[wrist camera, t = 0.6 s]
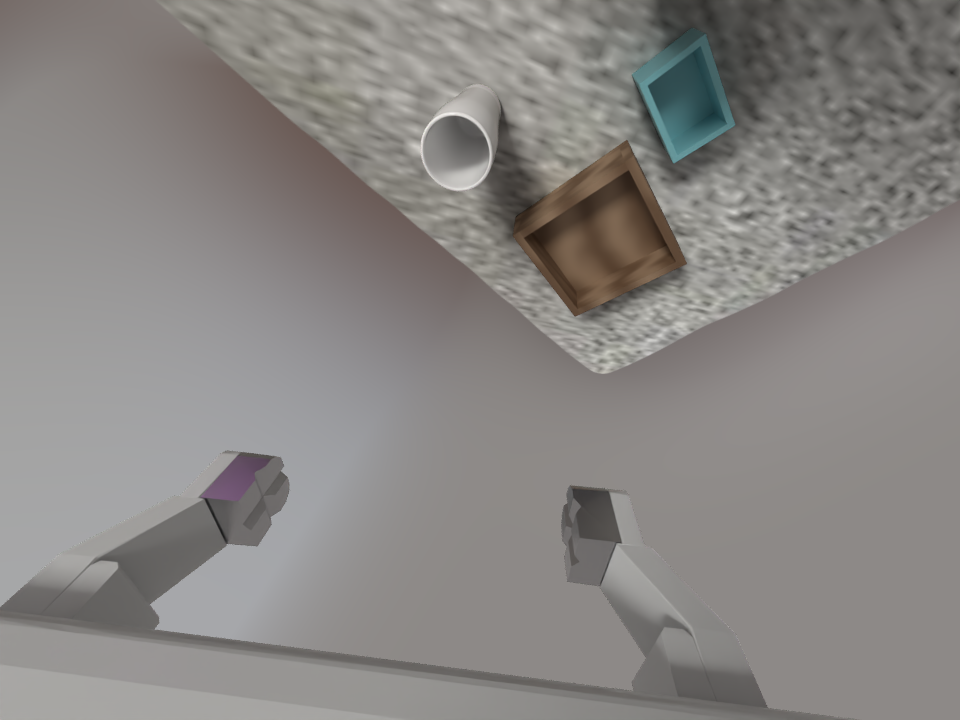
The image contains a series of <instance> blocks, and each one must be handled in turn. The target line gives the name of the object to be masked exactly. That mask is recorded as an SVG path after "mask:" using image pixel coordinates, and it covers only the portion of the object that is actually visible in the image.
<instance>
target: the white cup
mask: <svg viewBox="0 0 960 720" xmlns="http://www.w3.org/2000/svg"><path fill="white" fill-rule="evenodd" d="M500 118H501V106H500V102H499V99H498V97H497V95H496V94H495V93H494V92H493V90H491V89H490V88H489V87H487V86H485V85H482V84H474V85H470V86H468V87H467V88H465V89H464V90H463V91H462V92H461V93H460V94H459V95H458V96H456V97H455V98H453V99H452V100H450V101H449V102H447V103H446V104H445V105H443V106H442V107H441V108H440V109H439V110H438V111H437V112H436V113H435V115H434V116H433V117H432V119H431V120H430V122H429V123H428V125H427V127H426V129H425V130H424V133H423V136H422V140H421V157H422V161H423V164H424V166H425V169H426V170H427V172H428V174H429V175H430V176H431V178H432V179H433V180H434V181H435V182H436V183H438V184H439V185H440V186H442V187H444V188H446V189H449V190H452V191H467V190H471V189H473V188H475V187H477V186H478V185H480V184H481V183H482V182H483V181H484V180H485V178H486V177H487V175H488V173H489V171H490V169H491V167H492V165H493V162H494V159H495V156H496V152H497V147H498V137H499V122H500Z"/></svg>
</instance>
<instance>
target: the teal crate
mask: <svg viewBox="0 0 960 720" xmlns="http://www.w3.org/2000/svg"><path fill="white" fill-rule="evenodd" d="M632 76H633V78H634V81H635V83H636V85H637V87H638V90H639V92H640V94H641V96H642V99H643V101H644V103H645V105H646V108H647V110H648V112H649V114H650V117H651V119H652V121H653V124H654V126H655V128H656V130H657V133H658V135H659V137H660V139H661V142H662V144H663V146H664V148H665V150H666V152H667V154H668V155H669V157H670V159H671V160H672V162H673V164H674V163H676V162H677V161H679V160H680V159H682V158H684V157H685V156H687V155H688V154H690V153H692V152H693V151H695V150H697V149H698V148H700V147H701V146H703V145H705V144H706V143H708V142H710V141H711V140H713V139H714V138H716V137H718V136H719V135H721V134H722V133H724V132H726V131H727V130H729V129H731V128H732V127H734V126H735V122H734V119H733V116H732V113H731V110H730V107H729V104H728V101H727V98H726V95H725V92H724V89H723V85H722V82H721V79H720V76H719V73H718V70H717V67H716V64H715V61H714V58H713V55H712V52H711V48H710V45H709V42H708V39H707V36H706V34H705V33H703V32H701V31H699V30H697V29H694V28H691V29H690V30H688V31H687V32H686V33H685V34H683V35H682V36H681V37H679V38H678V39H677V40H676V41H674V42H673V43H672V44H670V45H669V46H668V47H667V48H665V49H664V50H663V51H662V52H660V53H659V54H658V55H656V56H655V57H654V58H653V59H651V60H650V61H649V62H647V63H646V64H645V65H644V66H642V67H641V68H640V69H638V70H637V71H636V72H635V73H633V74H632Z"/></svg>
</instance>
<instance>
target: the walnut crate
mask: <svg viewBox="0 0 960 720" xmlns="http://www.w3.org/2000/svg"><path fill="white" fill-rule="evenodd" d="M513 237H514V238H515V240H516V241H517V242H518V244H519V245H520V246H521V247H522V249H523V250H524V251H525V253H526V254H527V255H528V256H529V258H530V259H531V260H532V262H533V263H534V264H535V266H536V267H537V268H538V269H539V271H540V272H541V273H542V275H543V276H544V277H545V278H546V280H547V281H548V282H549V284H550V285H551V286H552V287H553V289H554V290H555V291H556V293H557V294H558V295H559V297H560V298H561V299H562V300H563V302H564V303H565V304H566V306H567V307H568V308H569V309H570V311H571V312H572V313H573V315H574V316H577V315H580V314H582V313H584V312H586V311H588V310H590V309H592V308H594V307H596V306H599V305H601V304H603V303H605V302H607V301H609V300H611V299H613V298H616V297H618V296H620V295H622V294H624V293H626V292H628V291H630V290H632V289H635V288H637V287H639V286H641V285H643V284H645V283H647V282H649V281H652V280H654V279H656V278H658V277H660V276H662V275H664V274H666V273H668V272H671V271H673V270H675V269H677V268H679V267H681V266H683V265H685V264H687V263H686V261H685V258H684V256H683V254H682V251H681V249H680V247H679V245H678V242H677V240H676V238H675V236H674V234H673V232H672V230H671V228H670V226H669V224H668V222H667V220H666V218H665V216H664V214H663V212H662V210H661V208H660V206H659V204H658V202H657V200H656V198H655V196H654V194H653V192H652V190H651V188H650V185H649V183H648V181H647V179H646V177H645V175H644V173H643V171H642V169H641V167H640V165H639V163H638V161H637V159H636V157H635V155H634V153H633V151H632V149H631V147H630V145H629V143H628V141H627V140H626V141H625V142H623V143H622V144H620V145H619V146H618V147H616V148H615V149H613V150H612V151H610V152H609V153H607V154H606V155H605V156H603V157H602V158H600V159H599V160H597V161H596V162H594V163H593V164H592V165H590V166H589V167H587V168H586V169H584V170H583V171H581V172H580V173H579V174H577V175H576V176H574V177H573V178H571V179H570V180H568V181H567V182H566V183H564V184H563V185H561V186H560V187H558V188H557V189H555V190H554V191H553V192H551V193H550V194H548V195H547V196H545V197H544V198H542V199H541V200H540V201H538V202H537V203H535V204H534V205H532V206H531V207H529V208H528V209H527V210H525V211H524V212H522V213H521V214H519V215H518V216H517V217H516V219H515V226H514V232H513Z"/></svg>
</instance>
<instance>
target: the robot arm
mask: <svg viewBox="0 0 960 720" xmlns="http://www.w3.org/2000/svg"><path fill="white" fill-rule="evenodd" d="M283 467H284V464H283V461H282V459H281V458H280V457H276V456H269V455H261V454H254V453H245V452H236V451H225V452H223V453H220V455H219V456H218V457H217V458H216V459H215V460H214V461H213V462H212V463H211V464H210V465H209V466H208V467H207V468H206V469H205V470H204V471H203V472H202V473H201V474H200V475H199V476H198V477H197V479H196V480H195V481H194V482H193V483H192V484H191V485H190V486H189V487H188V488H187V489H186V490H185V491H184V492H183V493H182V494H181V495H180V496H172V497H170V498H168V499H167V500H165V501H163V502H161V503H159V504H157V505H155V506H153V507H151V508H149V509H147V510H145V511H143V512H141V513H139V514H137V515H135V516H133V517H131V518H129V519H127V520H125V521H123V522H121V523H119V524H117V525H115V526H113V527H111V528H110V529H107V530H106V531H104V532H101V533H99V534H97V535H96V536H94V537H92V538H90V539H88V540H86V541H84V542H82V543H80V544H78V545H76V546H74V547H72V548H70V549H68V550H66V551H64V552H62V553H60V554H59V555H58V556H57V557H56V558H55V559H53V560H52V561H51V562H50V563H49V564H48V565H47V566H46V567H44V568H43V569H42V570H41V571H40V572H39V573H38V574H37V575H36V576H34V577H33V578H32V579H31V580H30V581H29V582H28V583H27V584H26V585H24V586H23V587H22V588H21V589H20V590H19V591H18V592H17V593H16V594H15V595H13V596H12V597H11V598H10V599H9V600H8V601H7V602H6V603H5V604H3V605H2V606H1V607H0V720H857V719H850V718H841V717H834V716H826V715H818V714H810V713H802V712H795V711H787V710H779V709H771V708H768V707H767V705H766V702H765V700H764V698H763V696H762V693H761V691H760V689H759V687H758V684H757V682H756V680H755V677H754V675H753V673H752V670H751V668H750V666H749V664H748V661H747V659H746V657H745V654H744V652H743V650H742V648H741V646H740V643H739V641H738V639H737V636H736V634H735V633H734V632H733V631H732V630H731V629H730V628H729V627H728V626H727V625H726V624H725V623H724V622H723V621H722V620H721V619H720V618H719V617H718V616H717V614H715V612H714V611H713V610H712V609H711V608H710V607H709V606H708V605H707V604H706V603H705V602H704V601H703V600H702V599H701V598H700V597H699V596H698V595H697V594H696V593H695V592H694V591H693V590H692V589H691V588H690V587H689V586H688V585H687V584H686V583H685V582H684V581H683V579H682V578H681V577H680V576H679V575H678V574H677V573H676V572H675V571H674V570H673V569H672V568H671V567H670V566H669V565H668V564H667V563H666V562H665V561H664V560H663V559H662V558H661V557H660V556H659V555H658V554H657V553H656V552H655V551H654V550H653V549H652V547H647V546H645V545H644V541H643V538H642V535H641V532H640V529H639V525H638V522H637V519H636V516H635V513H634V510H633V507H632V504H631V500H630V497H629V494H628V493H627V492H626V491H623V490H613V489H605V488H592V487H582V486H569V488H568V491H567V504H566V505H564V507H563V512H562V522H561V523H562V524H561V527H562V541H563V542H564V544H565V545H566V546H567V548H566V552H565V556H564V559H565V568H566V576H567V582H573V583H580V584H587V585H595V586H600V589H601V590H602V592H603V594H604V595H605V597H606V598H607V600H608V601H609V603H610V604H611V606H612V607H613V609H614V610H615V612H616V613H617V615H618V616H619V618H620V619H621V621H622V622H623V624H624V625H625V627H626V628H627V630H628V631H629V633H630V634H631V636H632V637H633V639H634V640H635V642H636V643H637V645H638V647H639V648H640V649H641V651H642V653H643V654H644V656H645V657H646V659H645V661H644V662H643V664H642V666H641V667H640V669H639V671H638V673H637V674H636V676H635V678H634V679H633V681H632V686H633V691H631V690H622V689H614V688H607V687H599V686H591V685H584V684H576V683H568V682H559V681H552V680H544V679H536V678H529V677H521V676H513V675H505V674H498V673H489V672H482V671H474V670H466V669H459V668H451V667H443V666H435V665H427V664H420V663H412V662H403V661H396V660H388V659H380V658H372V657H365V656H357V655H349V654H341V653H334V652H326V651H318V650H310V649H303V648H294V647H286V646H279V645H271V644H263V643H255V642H248V641H240V640H232V639H224V638H216V637H208V636H201V635H193V634H184V633H177V632H169V631H162V630H154V629H155V627H156V626H157V625H158V624H159V617H158V615H157V614H156V612H155V611H154V610H153V608H152V607H151V606H150V604H151V603H152V602H153V601H155V600H156V599H157V598H159V597H160V596H161V595H163V594H164V593H165V592H167V591H168V590H169V589H170V588H172V587H173V586H174V585H176V584H177V583H178V582H180V581H181V580H182V579H183V578H185V577H186V576H187V575H189V574H190V573H191V572H193V571H194V570H195V569H197V568H198V567H199V566H201V565H202V564H203V563H205V562H206V561H207V560H208V559H210V558H211V557H212V556H214V555H215V554H216V553H218V552H219V551H220V550H222V549H223V548H224V547H225V546H226V544H235V545H247V546H258V545H259V543H260V542H261V540H262V538H263V537H264V535H265V534H266V532H267V531H268V529H269V528H270V526H271V516H273V515H274V514H276V513H277V512H279V511H280V510H281V509H282V507H283V506H284V504H285V502H286V500H287V497H288V494H289V480H288V477H287V476H286V475H285V474H283V473H282V472H281V470H282V468H283Z"/></svg>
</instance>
